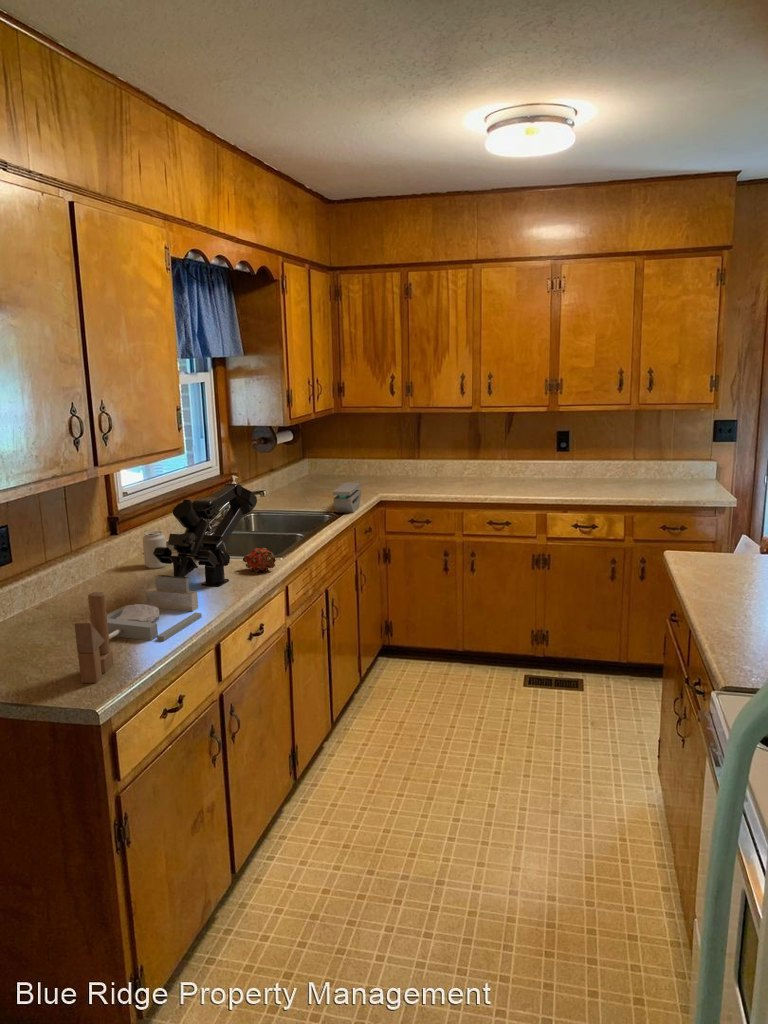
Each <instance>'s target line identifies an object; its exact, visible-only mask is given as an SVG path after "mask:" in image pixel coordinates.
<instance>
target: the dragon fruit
mask: <svg viewBox="0 0 768 1024" xmlns="http://www.w3.org/2000/svg"><path fill="white" fill-rule="evenodd" d="M242 562H243V563H245V567H246V568H248V569H252V570H254V572H255V573H259V572H260V571H262V572H268V571H269V569H273V568H275V567H276V564H275V563H276V562H277V560H276V557H275V554H274V553H273V552H272V551H270V550H269V549H268V548H265V547H262V548H261V547H260V548H259V547H255V548H254V550H252V552H250V553H248V554H246V555H245V556H243V557H242Z"/></svg>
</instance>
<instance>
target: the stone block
mask: <svg viewBox="0 0 768 1024" xmlns="http://www.w3.org/2000/svg"><path fill="white" fill-rule="evenodd" d="M125 606H126V607H125V608H124V609H123V611H122V613H121V615H120V616H119V617H117V618H115V619H120V620H129V621H139V622H148V623H156V622H157V621H159V620H160V608H157V607H155V606H150V605H147V604H141V603H140V604H139V603H135V604H128V605H125Z"/></svg>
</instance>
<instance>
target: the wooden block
mask: <svg viewBox="0 0 768 1024" xmlns="http://www.w3.org/2000/svg"><path fill="white" fill-rule="evenodd" d="M87 599H88V609H89V619H90V622H76V623H75V622H74V624H73V625H74V634H75V639H76V640H75V642H76V650H77V651H76V652H77V656H78V657H77V658H78V666H79V673H80V674H79V675H80V682H81V684H95V683H98V682H99V680H100V679H101V678H102V677H103V674H105V673H106V672H107V671H108V670H109V669H110V668H111V667H112V665H113V664H114V654H113V649H111V645H110V639H109V633H108V623H107V614H108V613H107V603H106V594H105V592H103V591H94V592H91V593H89V594H88V595H87Z"/></svg>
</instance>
